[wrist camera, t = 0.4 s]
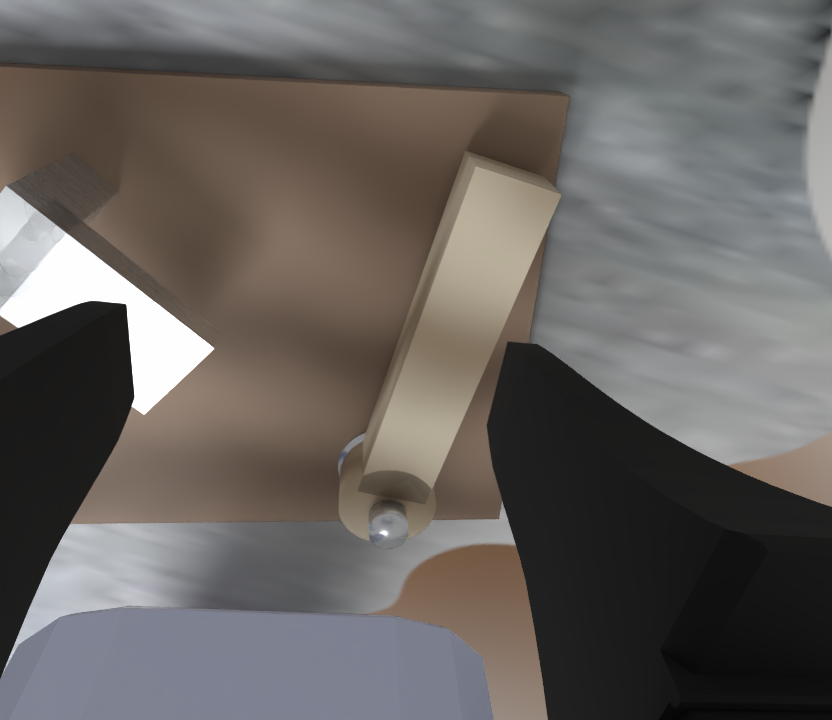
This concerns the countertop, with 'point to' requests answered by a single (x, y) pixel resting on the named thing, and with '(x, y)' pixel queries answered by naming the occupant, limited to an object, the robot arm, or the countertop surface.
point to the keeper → (113, 292)
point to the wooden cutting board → (276, 265)
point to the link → (447, 338)
